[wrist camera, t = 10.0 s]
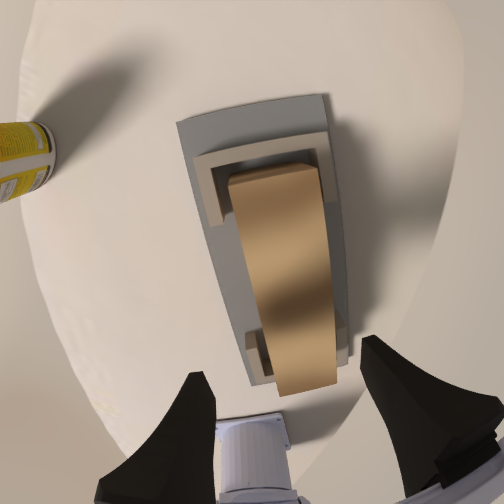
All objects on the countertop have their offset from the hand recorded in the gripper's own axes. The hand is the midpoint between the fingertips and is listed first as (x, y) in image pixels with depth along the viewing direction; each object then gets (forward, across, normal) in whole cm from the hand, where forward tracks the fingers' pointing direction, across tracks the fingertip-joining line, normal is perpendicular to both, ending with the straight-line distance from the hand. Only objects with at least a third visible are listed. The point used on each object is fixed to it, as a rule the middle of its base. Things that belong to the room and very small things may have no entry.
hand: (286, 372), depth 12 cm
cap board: (+9, -1, -1) cm, 9 cm away
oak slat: (+8, -1, -1) cm, 9 cm away
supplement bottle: (+10, +15, -14) cm, 23 cm away
